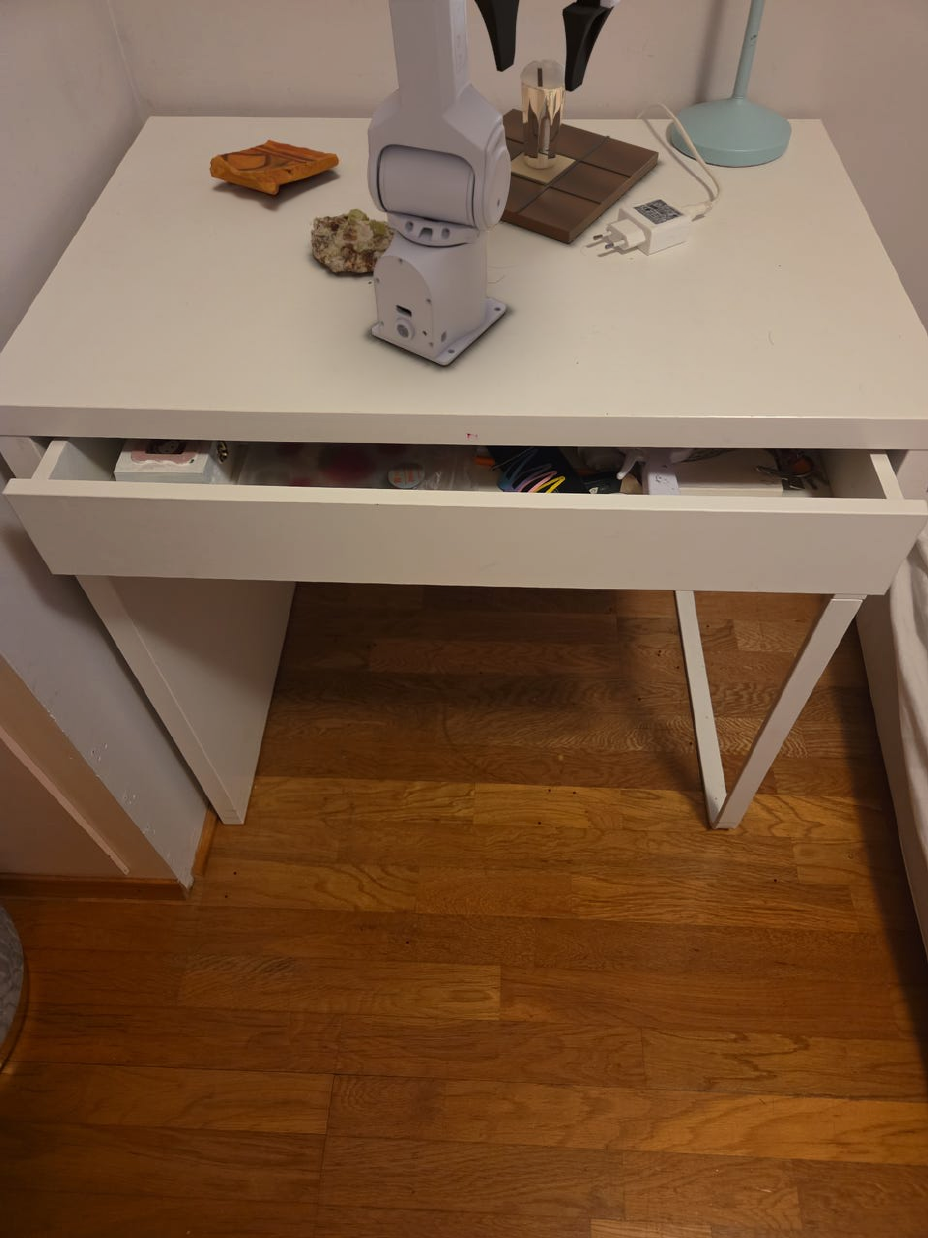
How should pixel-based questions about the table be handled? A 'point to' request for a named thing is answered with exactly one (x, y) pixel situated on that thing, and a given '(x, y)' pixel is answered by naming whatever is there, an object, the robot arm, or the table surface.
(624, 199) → the table surface
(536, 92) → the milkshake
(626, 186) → the board
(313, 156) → the pottery fragment
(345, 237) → the mineral rock
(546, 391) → the table surface
